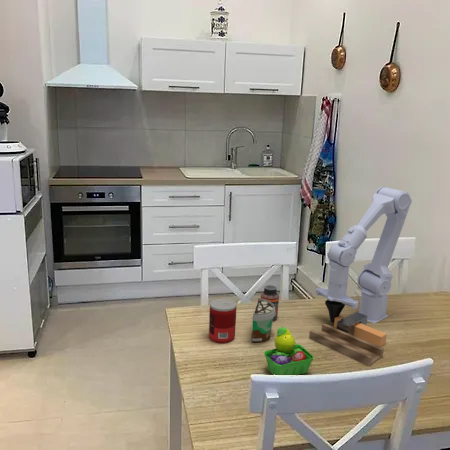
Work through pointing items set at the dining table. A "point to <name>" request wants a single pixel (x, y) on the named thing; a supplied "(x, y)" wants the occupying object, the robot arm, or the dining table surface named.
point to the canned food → (222, 320)
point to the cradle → (347, 344)
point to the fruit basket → (287, 355)
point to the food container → (262, 321)
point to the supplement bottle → (271, 297)
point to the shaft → (366, 333)
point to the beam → (351, 322)
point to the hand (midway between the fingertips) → (333, 321)
